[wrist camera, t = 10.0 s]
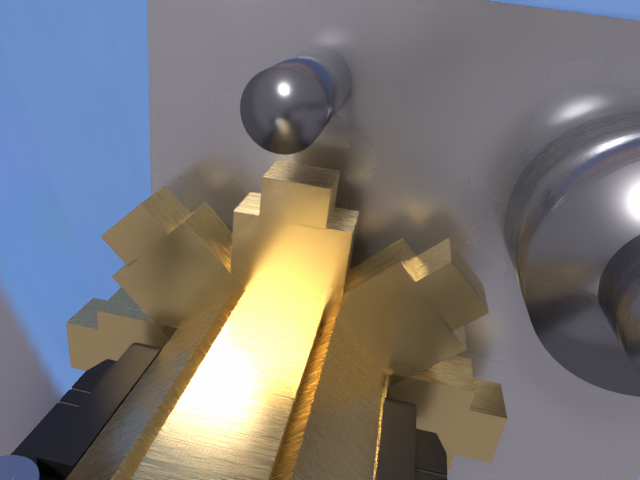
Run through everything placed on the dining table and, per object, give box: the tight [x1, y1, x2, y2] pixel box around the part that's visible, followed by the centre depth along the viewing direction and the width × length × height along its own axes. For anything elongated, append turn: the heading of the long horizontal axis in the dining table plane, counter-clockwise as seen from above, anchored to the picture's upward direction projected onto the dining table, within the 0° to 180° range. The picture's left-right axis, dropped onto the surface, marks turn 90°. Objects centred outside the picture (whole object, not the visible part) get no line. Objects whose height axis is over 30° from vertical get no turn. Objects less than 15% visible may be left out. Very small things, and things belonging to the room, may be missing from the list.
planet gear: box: [66, 160, 507, 480], centre depth 11 cm, size 11×11×7 cm
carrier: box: [147, 0, 640, 480], centre depth 12 cm, size 14×14×6 cm
